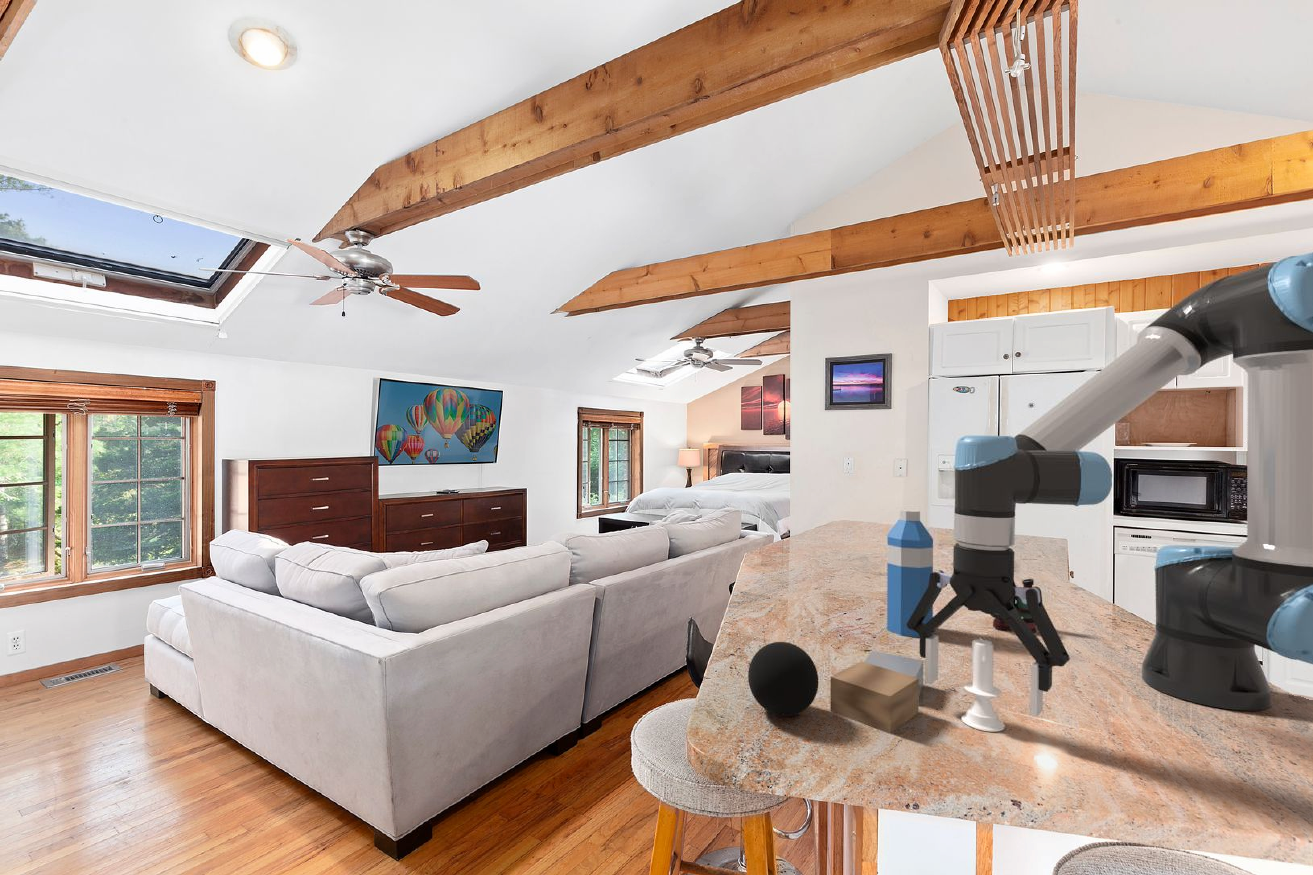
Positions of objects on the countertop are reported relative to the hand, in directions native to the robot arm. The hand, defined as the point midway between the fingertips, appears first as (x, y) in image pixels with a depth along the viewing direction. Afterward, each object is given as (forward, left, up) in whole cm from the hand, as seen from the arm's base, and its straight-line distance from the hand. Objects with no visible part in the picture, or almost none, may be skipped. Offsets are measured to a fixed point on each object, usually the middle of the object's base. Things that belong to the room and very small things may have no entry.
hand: (980, 696), depth 84 cm
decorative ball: (+21, +18, -4) cm, 28 cm away
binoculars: (+10, -50, -4) cm, 51 cm away
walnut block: (+12, +8, -4) cm, 15 cm away
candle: (0, 0, -4) cm, 4 cm away
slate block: (+14, -2, -4) cm, 15 cm away
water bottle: (+25, -33, -4) cm, 42 cm away
